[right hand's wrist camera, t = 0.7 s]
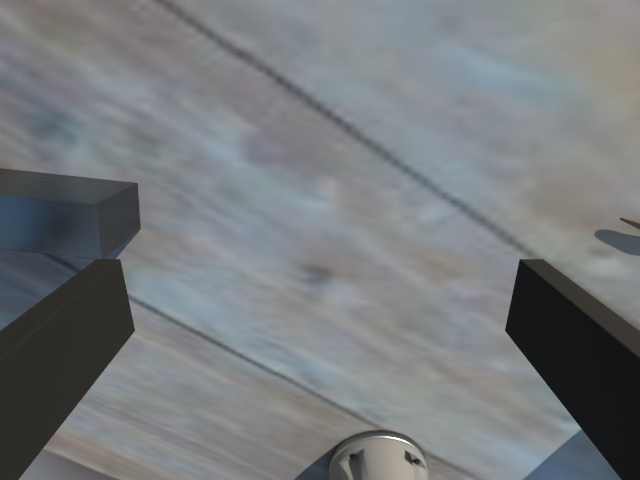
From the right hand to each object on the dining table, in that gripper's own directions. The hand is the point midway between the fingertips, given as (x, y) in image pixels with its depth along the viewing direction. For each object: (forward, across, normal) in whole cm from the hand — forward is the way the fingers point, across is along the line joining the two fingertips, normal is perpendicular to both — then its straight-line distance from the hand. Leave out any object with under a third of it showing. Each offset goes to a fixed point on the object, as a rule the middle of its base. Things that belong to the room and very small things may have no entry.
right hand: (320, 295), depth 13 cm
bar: (+32, +36, +4) cm, 48 cm away
